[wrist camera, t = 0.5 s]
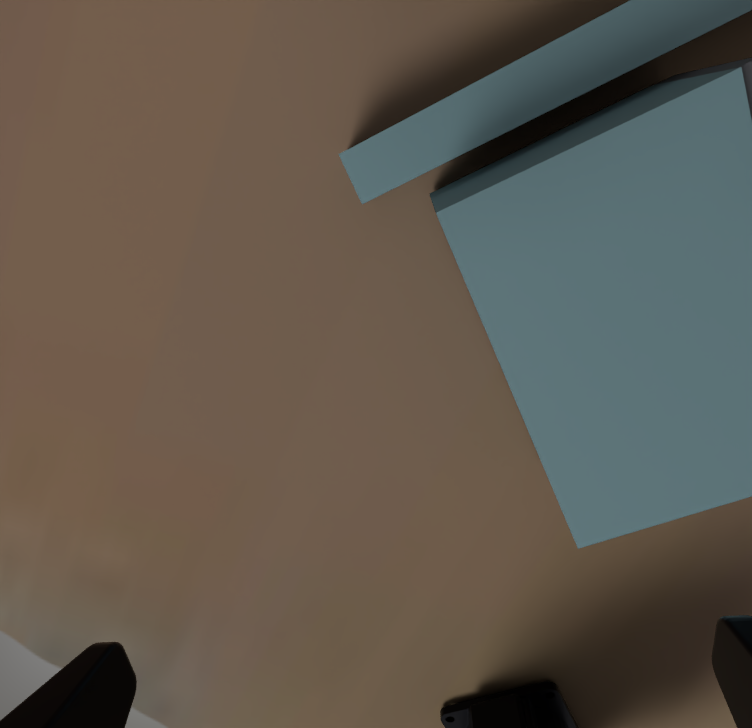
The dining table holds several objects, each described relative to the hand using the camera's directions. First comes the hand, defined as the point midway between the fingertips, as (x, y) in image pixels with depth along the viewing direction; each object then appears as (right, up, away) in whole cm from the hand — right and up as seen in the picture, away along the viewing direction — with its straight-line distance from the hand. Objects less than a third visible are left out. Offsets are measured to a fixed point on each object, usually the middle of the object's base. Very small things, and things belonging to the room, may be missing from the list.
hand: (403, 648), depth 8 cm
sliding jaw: (+8, +7, +11) cm, 15 cm away
